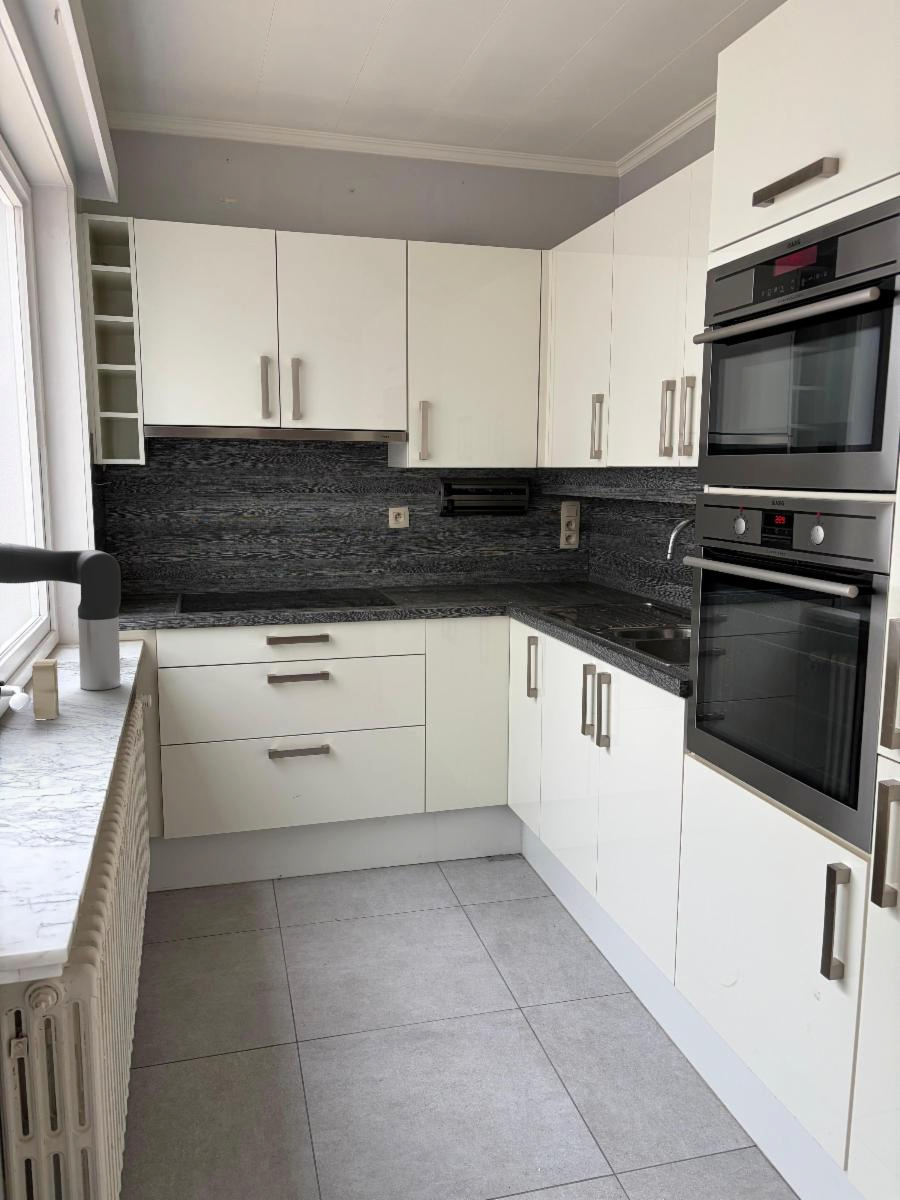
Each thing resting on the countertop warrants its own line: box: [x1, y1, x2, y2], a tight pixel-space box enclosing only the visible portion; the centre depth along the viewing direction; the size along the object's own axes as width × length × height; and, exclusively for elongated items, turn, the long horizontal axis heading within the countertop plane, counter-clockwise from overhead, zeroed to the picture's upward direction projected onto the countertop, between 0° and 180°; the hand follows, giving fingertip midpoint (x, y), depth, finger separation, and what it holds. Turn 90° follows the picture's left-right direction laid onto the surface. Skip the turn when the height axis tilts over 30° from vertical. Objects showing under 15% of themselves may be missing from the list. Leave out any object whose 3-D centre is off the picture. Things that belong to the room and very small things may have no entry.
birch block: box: [31, 658, 60, 720], centre depth 198 cm, size 6×4×12 cm
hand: (3, 686), depth 195 cm, fingers closed
